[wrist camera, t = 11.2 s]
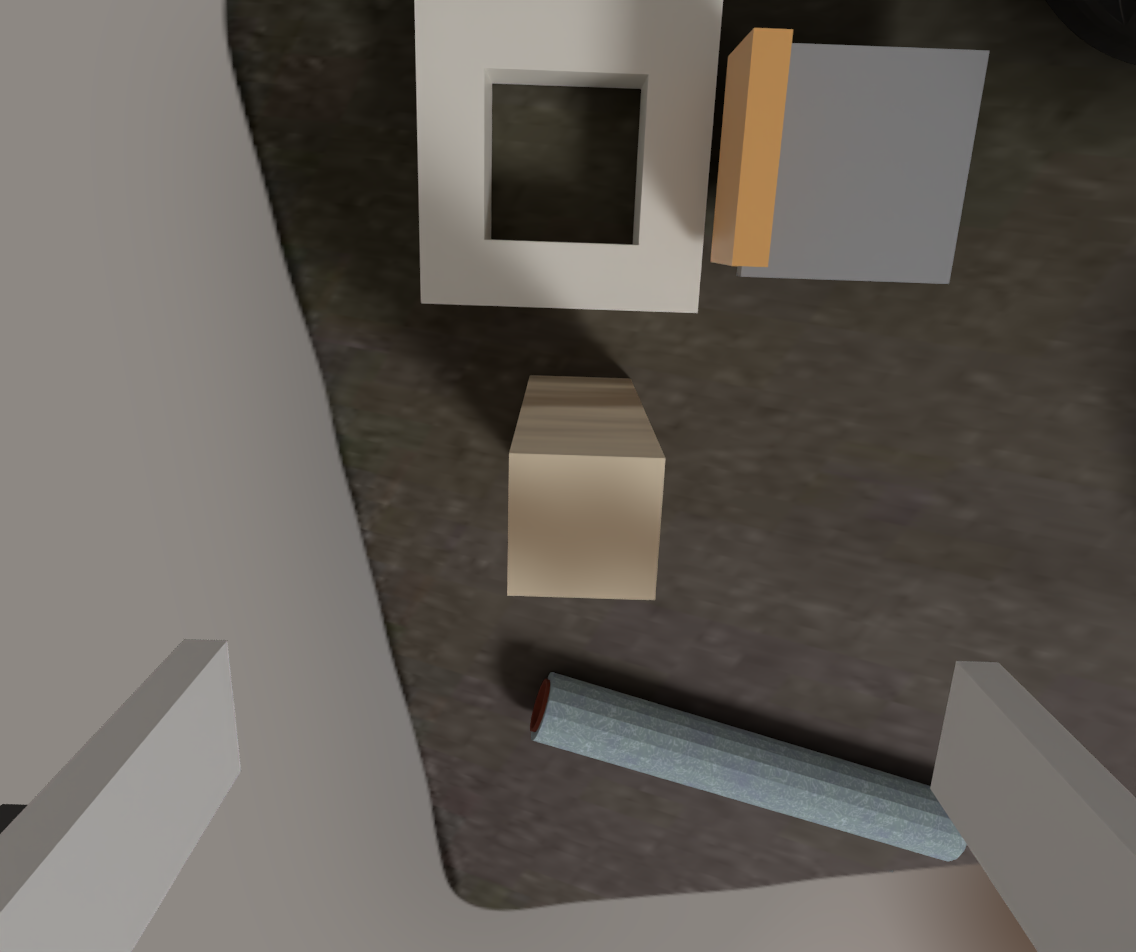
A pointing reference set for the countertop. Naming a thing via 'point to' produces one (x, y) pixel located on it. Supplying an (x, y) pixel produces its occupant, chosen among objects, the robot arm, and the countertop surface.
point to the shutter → (844, 159)
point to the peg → (584, 492)
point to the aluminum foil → (742, 766)
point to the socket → (565, 58)
